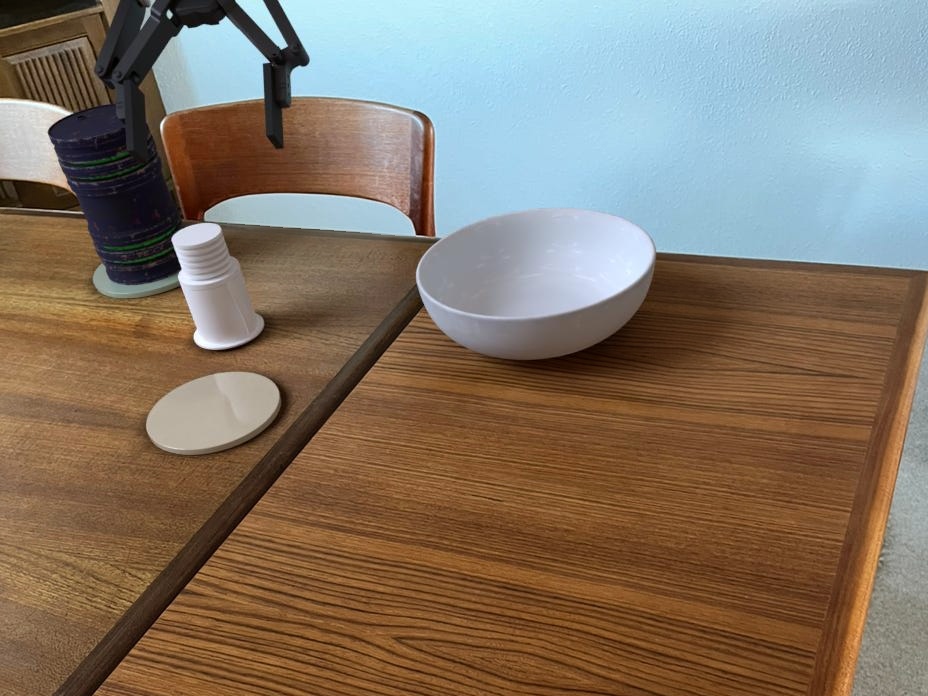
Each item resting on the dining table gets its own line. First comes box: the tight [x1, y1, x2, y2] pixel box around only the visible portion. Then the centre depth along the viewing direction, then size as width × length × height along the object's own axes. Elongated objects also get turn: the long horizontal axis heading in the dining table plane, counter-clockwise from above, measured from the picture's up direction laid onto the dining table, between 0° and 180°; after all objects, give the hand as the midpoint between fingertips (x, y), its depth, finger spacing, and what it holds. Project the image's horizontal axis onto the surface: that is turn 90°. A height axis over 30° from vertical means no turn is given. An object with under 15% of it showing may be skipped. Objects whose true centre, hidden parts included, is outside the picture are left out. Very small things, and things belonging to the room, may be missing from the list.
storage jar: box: [47, 102, 186, 285], centre depth 102 cm, size 10×10×15 cm
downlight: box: [172, 222, 265, 351], centre depth 92 cm, size 8×7×10 cm
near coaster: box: [145, 371, 282, 456], centre depth 86 cm, size 12×12×1 cm
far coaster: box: [92, 262, 181, 299], centre depth 108 cm, size 13×13×1 cm
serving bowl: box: [415, 207, 657, 361], centre depth 86 cm, size 21×21×7 cm
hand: (205, 150), depth 91 cm, fingers open, 13 cm apart
